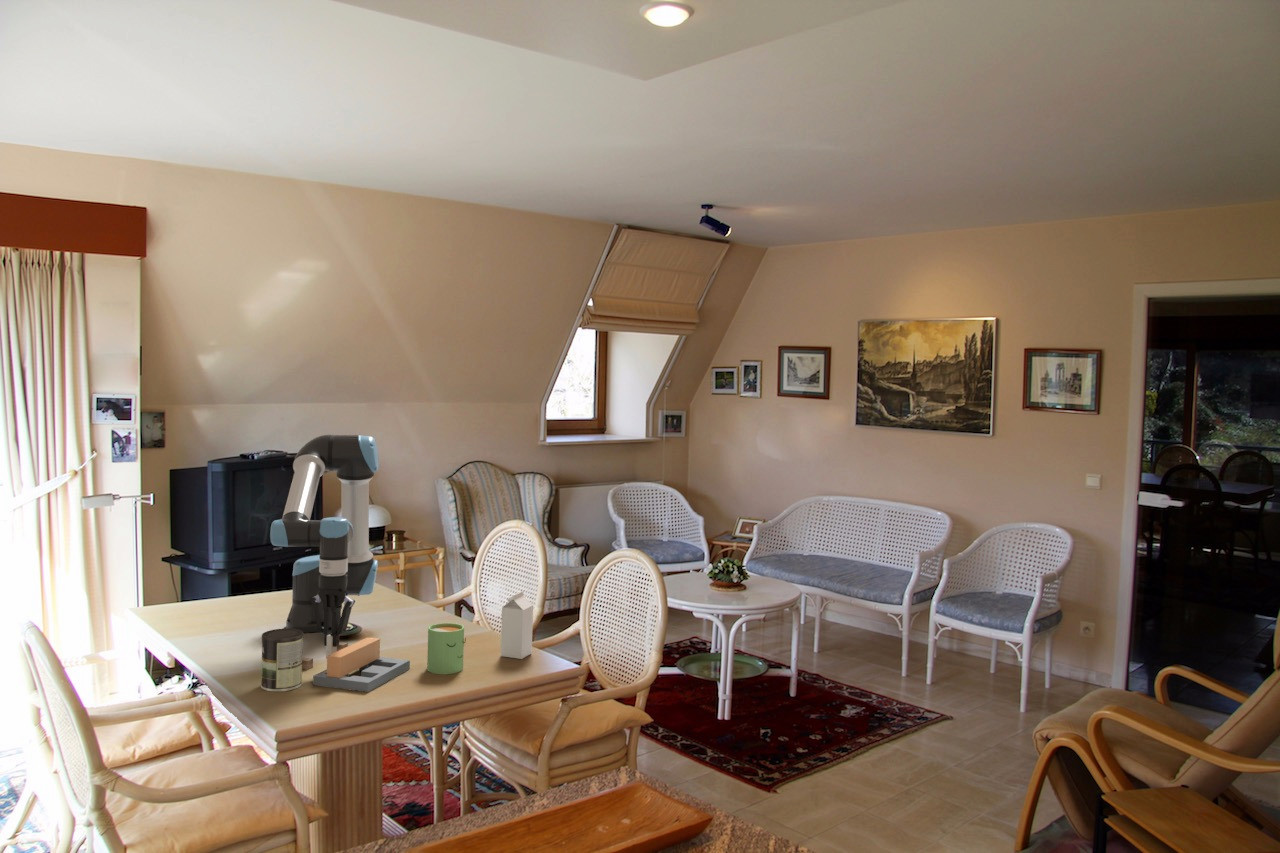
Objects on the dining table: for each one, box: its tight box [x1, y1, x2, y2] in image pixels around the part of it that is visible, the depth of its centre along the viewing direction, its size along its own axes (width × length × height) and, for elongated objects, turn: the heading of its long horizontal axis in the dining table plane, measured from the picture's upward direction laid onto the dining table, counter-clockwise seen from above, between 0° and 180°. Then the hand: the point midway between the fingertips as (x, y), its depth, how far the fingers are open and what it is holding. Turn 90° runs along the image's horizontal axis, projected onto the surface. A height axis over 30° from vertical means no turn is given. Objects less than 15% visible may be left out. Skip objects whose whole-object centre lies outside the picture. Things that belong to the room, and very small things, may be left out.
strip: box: [326, 637, 381, 678], centre depth 258 cm, size 4×20×8 cm, turn 165°
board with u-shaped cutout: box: [312, 656, 411, 693], centre depth 257 cm, size 16×22×2 cm
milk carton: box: [500, 590, 534, 660], centre depth 283 cm, size 7×7×19 cm
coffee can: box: [260, 628, 304, 693], centre depth 247 cm, size 10×10×14 cm
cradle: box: [302, 641, 349, 671], centre depth 272 cm, size 5×20×2 cm, turn 165°
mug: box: [426, 622, 467, 675], centre depth 268 cm, size 13×10×12 cm
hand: (331, 657), depth 260 cm, fingers closed
